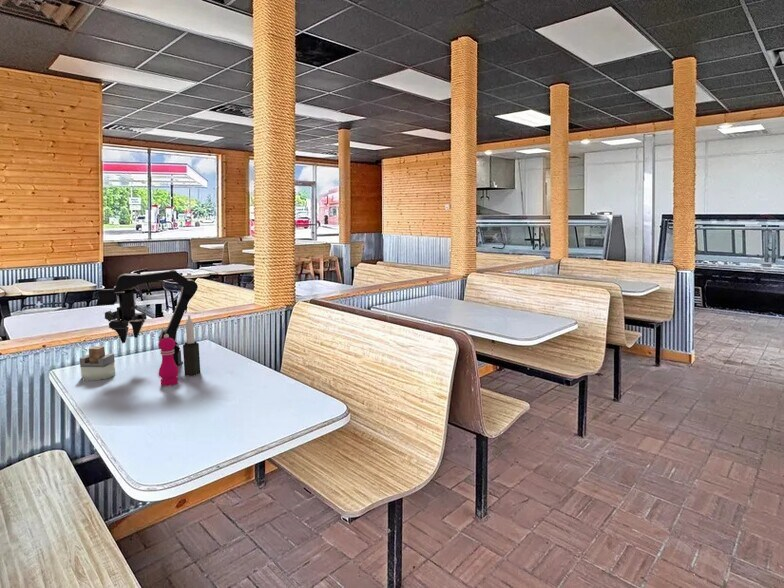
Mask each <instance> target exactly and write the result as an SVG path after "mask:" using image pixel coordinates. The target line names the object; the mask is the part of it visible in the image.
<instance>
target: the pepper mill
mask: <svg viewBox="0 0 784 588" xmlns="http://www.w3.org/2000/svg"><path fill="white" fill-rule="evenodd" d="M175 342H176V340H175V341H174V340H173V339H172V338H169V335H168V334H165V335H164V338H163V339H161V340H160V341H159V340H158V348H159V350H160V351H159V352H160V355H161V364H160V367H159V369H158V376H159V378H161V379H160V385H161V386H163V385H165V387H166V386H169V385H170V386H174V385H176V384H178V383H179V378H178V375H179V374H180V373H179V372H180V371H179V366H177V365H176V363H175V361H174V357H173V353H174V349H173V348H174V347H175Z"/></svg>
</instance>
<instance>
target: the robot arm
mask: <svg viewBox="0 0 784 588" xmlns="http://www.w3.org/2000/svg"><path fill="white" fill-rule="evenodd" d="M163 281H173V282H175V283H176V284H178V285H180V287H181V289H180V296H179V299H178V300H177V301H178V302H177V304H176V306H175V309H174V312H173V313H172V316H171V318H170V320H169V323H168V325H167V327H166V328H165V329H161V332H160V334H159V336H158V342H159V341H160V340H161V339H163V338H164V335H165V334H168V335H169V338H172V339H173V340H174V341H175V347H174V348H173V349H174V353H173V357H174V361H175V363H176V365H177V367H179V366H180V365H182V364H184V360H182V350H181V348H180V345H179V343H178V342H177V341H176V338H177V331H178V328H179V326H180V323H181V322H182V319H183V316H184V314H185V312H186V309H187V307H188V304H189V302H190V300H192V298H193V297H194V296H195V294H196V293H197V291H198V283H197V282H196V281H195V280H194V279H191V278H186V277H185V276H183V275H182V274H180V273H179V272H177V270H176V269H170V270H165V271H163V270H162V271H157V272H149V273H143V274H141V273H122V274H120V275H119V276H118V277H117V281H116V282H117V283H116V285H114V286H113V288H108V289H106V288H104V289H103V288H99V289H98V290H97V291H98V296H97V300H98V301H97V302H98V306H99V307H102V306H105V307H106V306H115V304H116V303H118V302H119V303H118V306H117V307H116V310H115V311H112V310H109V311H106V312H104V319H105V320H107V321H108V329H111V330H112V331H113V330H114V331H115V332H116V333H117V335H118V337H119V340H120V341H121V343H122V344H125V343H126V341H127V338H128V333H129V328H130V327H129V324H130V325H131V327H132V332H133V337H134V338H135V339H137V338H138V336H139V335H140V332H141V329H142V327H143V325H144V323H145V322H146V320H147V314H146V313H145V312H136V309H137V308H138V305H136V302H135V294H139V292H140V291H139V289H137V288H136V287H137V286H140V285H143V284H148V283H149V284H150V283H156V282H163ZM123 290H124V291H123Z"/></svg>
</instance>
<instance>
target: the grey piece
mask: <svg viewBox="0 0 784 588" xmlns="http://www.w3.org/2000/svg"><path fill="white" fill-rule="evenodd" d="M80 372H81V373H80V374H81V375H80V376H81V379H84V380H83V381H86V380H97V381H102V380H101V379H103V380H107V379H110V378H113V377H114V376H115V375H116V367H115V362H113V363H111V364H109V365H107V366H105V367H80ZM112 376H113V377H112ZM106 378H107V379H106Z"/></svg>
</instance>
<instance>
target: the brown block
mask: <svg viewBox="0 0 784 588" xmlns="http://www.w3.org/2000/svg"><path fill="white" fill-rule="evenodd" d="M105 351H106V349H105V346H101V345H100V346H99V345H98V346H93V347H90V348H88V355H89V359H90V363H98V359H99V358H101V357H103V356H105V355H106V352H105Z"/></svg>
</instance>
